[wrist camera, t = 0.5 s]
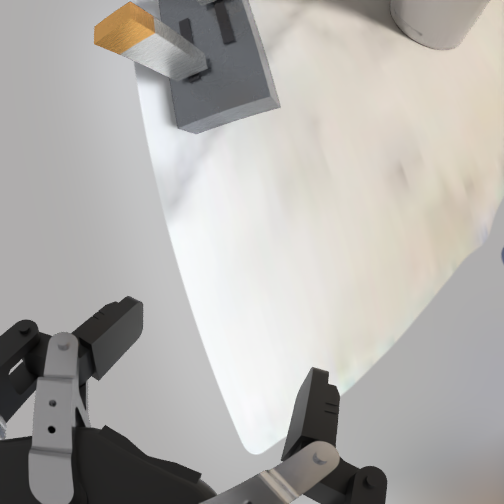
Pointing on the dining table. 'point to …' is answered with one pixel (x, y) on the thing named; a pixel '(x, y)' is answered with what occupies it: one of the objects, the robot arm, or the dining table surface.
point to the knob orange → (149, 43)
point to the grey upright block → (205, 2)
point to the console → (220, 64)
